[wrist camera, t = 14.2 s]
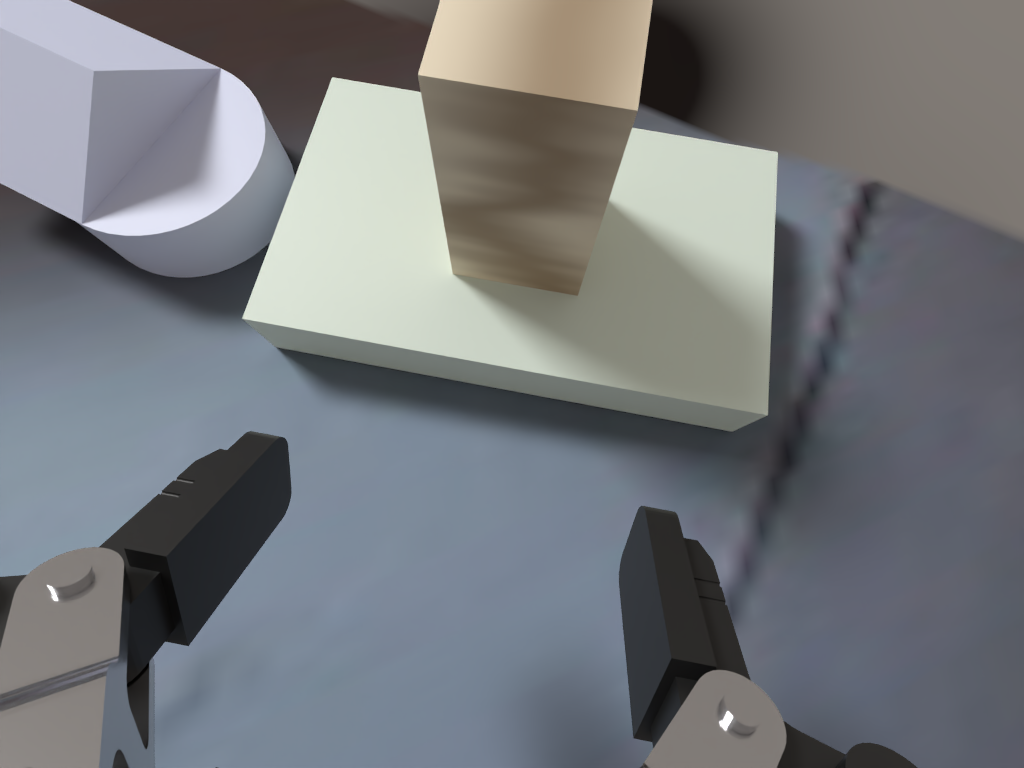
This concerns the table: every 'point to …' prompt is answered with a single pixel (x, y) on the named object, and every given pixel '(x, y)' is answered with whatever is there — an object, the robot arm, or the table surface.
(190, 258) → the wedge on round base
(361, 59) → the table surface
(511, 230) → the birch block
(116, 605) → the robot arm
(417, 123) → the sage board
